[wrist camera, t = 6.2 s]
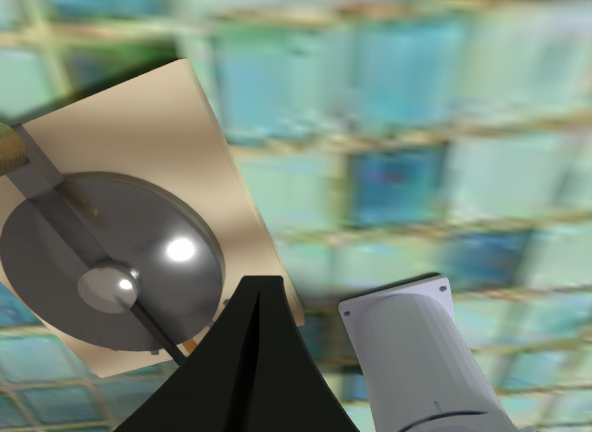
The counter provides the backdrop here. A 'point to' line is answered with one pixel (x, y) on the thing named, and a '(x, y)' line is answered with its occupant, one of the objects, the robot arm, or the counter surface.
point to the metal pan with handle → (107, 254)
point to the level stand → (158, 181)
